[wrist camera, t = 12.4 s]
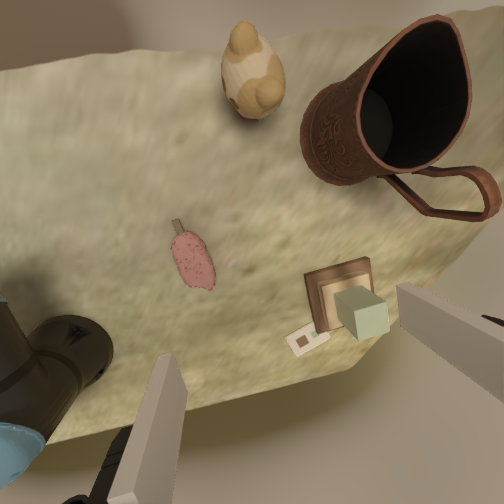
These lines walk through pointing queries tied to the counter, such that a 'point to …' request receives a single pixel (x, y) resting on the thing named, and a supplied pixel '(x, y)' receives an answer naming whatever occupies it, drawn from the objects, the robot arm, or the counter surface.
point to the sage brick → (362, 312)
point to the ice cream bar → (192, 259)
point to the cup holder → (399, 117)
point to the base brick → (334, 289)
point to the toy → (252, 73)
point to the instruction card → (305, 339)
